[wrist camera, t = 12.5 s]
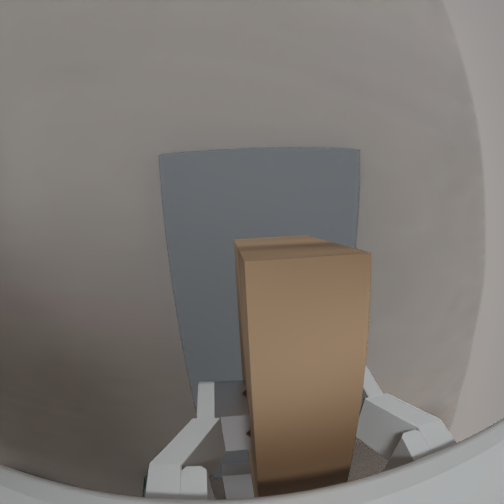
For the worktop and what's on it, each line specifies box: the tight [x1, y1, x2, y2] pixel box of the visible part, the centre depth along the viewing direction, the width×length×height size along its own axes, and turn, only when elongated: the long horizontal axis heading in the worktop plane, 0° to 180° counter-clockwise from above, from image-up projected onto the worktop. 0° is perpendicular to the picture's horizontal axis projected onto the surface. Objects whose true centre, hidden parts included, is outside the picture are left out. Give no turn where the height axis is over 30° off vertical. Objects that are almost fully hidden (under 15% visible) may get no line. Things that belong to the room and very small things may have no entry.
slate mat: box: [159, 148, 360, 479], centre depth 16 cm, size 22×8×1 cm, turn 2°
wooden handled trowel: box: [222, 235, 371, 499], centre depth 9 cm, size 18×5×5 cm, turn 2°
